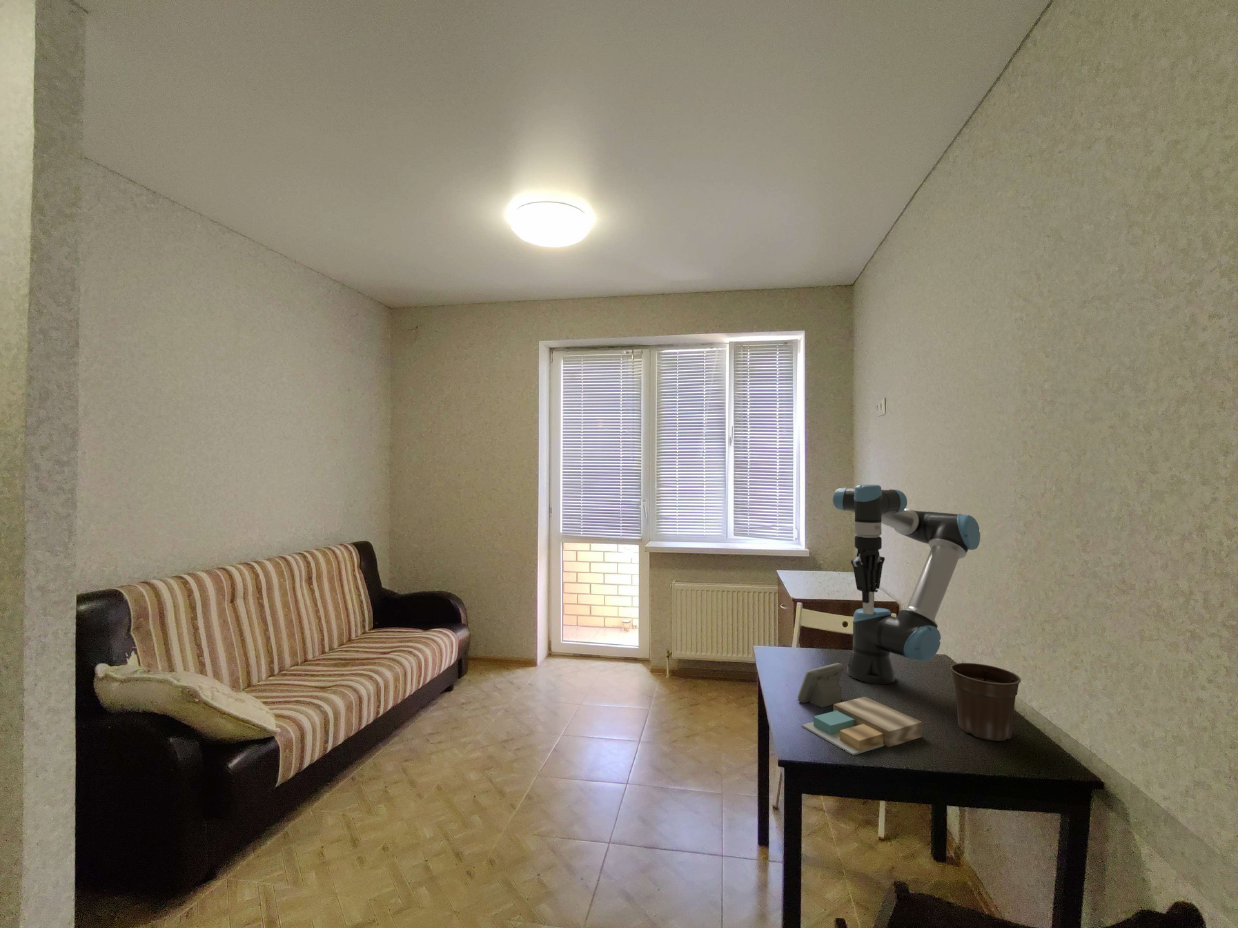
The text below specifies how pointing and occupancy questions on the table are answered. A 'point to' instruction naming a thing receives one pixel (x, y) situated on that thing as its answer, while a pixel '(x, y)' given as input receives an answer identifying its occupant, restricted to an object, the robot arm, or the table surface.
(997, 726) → the plant pot
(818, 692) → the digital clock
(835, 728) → the teal tile
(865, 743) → the ochre tile
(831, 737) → the mat
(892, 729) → the platform
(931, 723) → the table surface
